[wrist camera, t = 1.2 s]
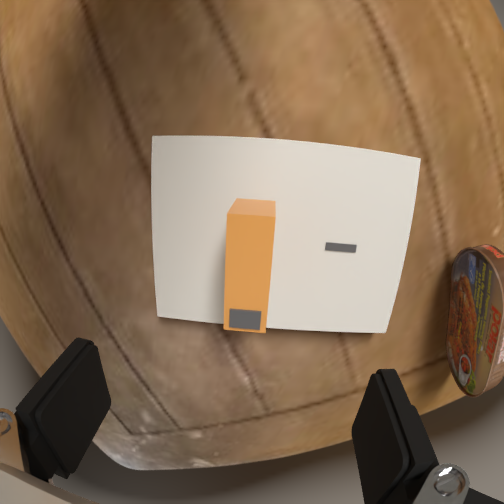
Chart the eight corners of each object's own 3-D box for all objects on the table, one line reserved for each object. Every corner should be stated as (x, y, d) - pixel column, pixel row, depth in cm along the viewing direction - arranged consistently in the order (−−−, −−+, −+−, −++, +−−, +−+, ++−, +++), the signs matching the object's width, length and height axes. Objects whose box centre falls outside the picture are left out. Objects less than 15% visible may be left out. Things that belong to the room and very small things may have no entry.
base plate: (161, 135, 24) (141, 136, 20) (410, 156, 23) (432, 160, 19) (164, 305, 29) (150, 328, 25) (379, 321, 28) (392, 345, 24)
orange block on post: (236, 198, 21) (226, 214, 16) (275, 200, 21) (275, 217, 16) (232, 295, 23) (223, 330, 19) (267, 298, 23) (265, 334, 19)
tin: (451, 235, 25) (504, 271, 17) (477, 230, 24) (532, 262, 17) (441, 364, 30) (471, 415, 22) (464, 357, 29) (496, 405, 21)
